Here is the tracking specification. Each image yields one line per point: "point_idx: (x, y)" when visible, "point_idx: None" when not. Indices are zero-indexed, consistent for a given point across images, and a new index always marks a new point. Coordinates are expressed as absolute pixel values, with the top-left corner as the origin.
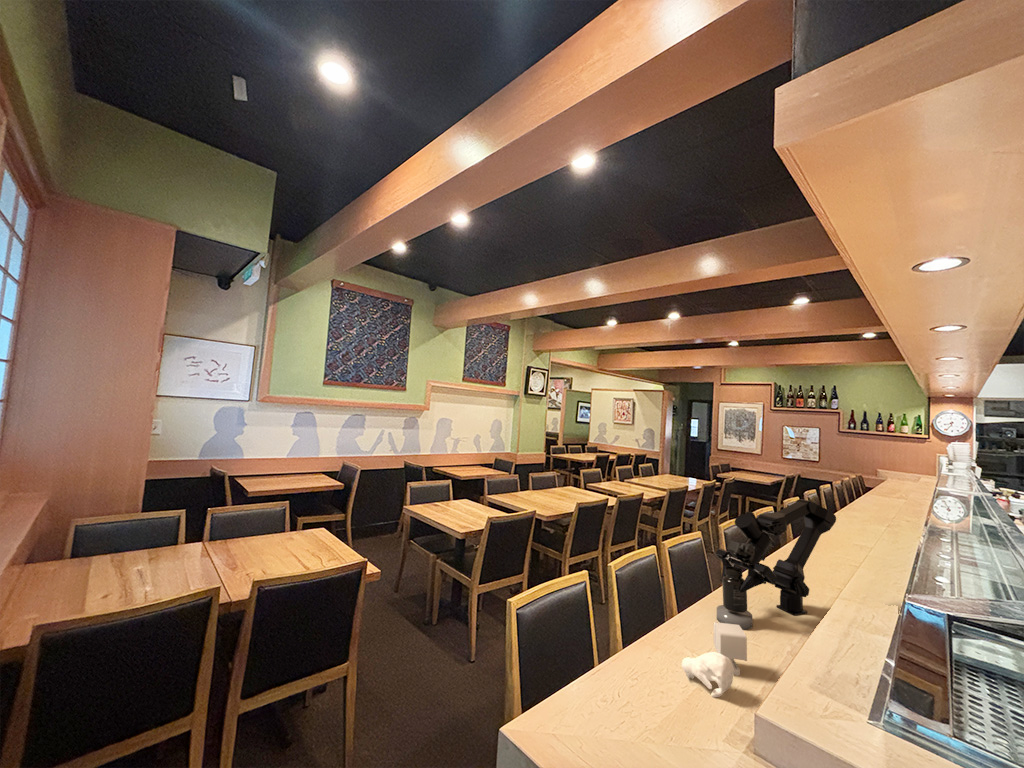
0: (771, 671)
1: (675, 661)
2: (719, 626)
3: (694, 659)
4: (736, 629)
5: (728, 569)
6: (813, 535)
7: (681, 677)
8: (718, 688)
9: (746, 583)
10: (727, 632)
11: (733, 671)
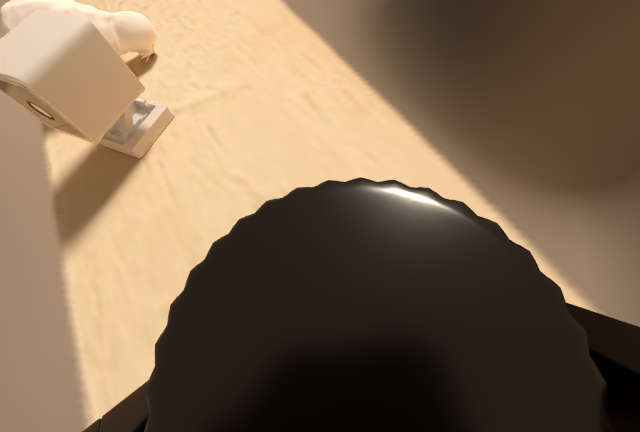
0: (65, 235)
1: (205, 48)
2: (53, 18)
3: (103, 11)
4: (5, 54)
5: (356, 209)
6: None
7: (158, 42)
8: None
9: (128, 403)
10: (18, 25)
11: None
